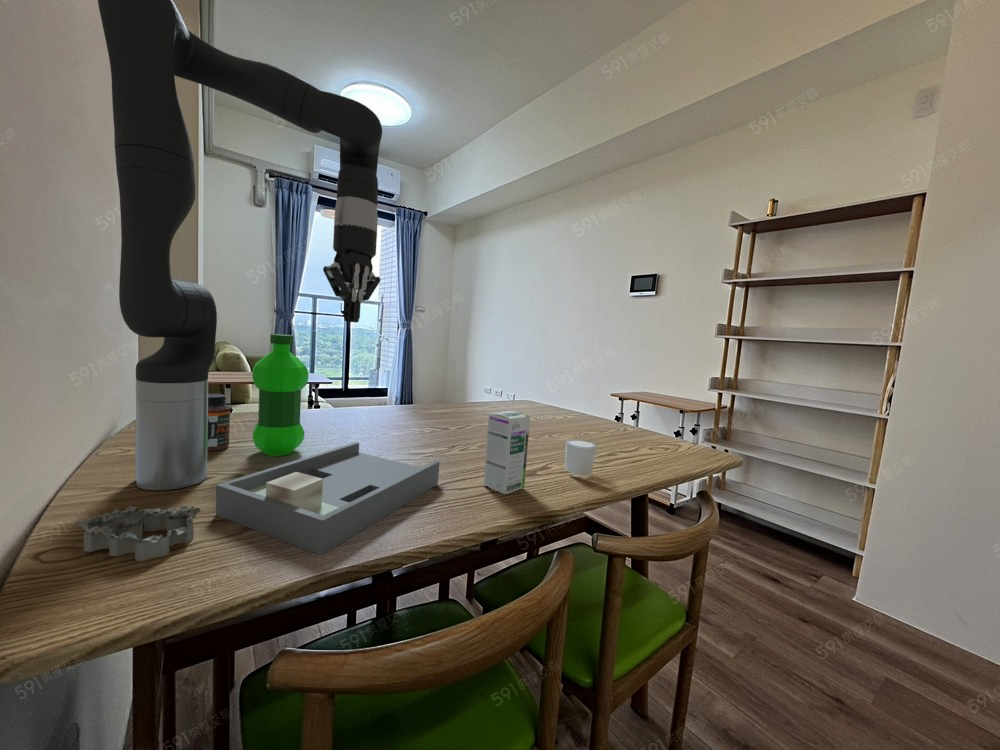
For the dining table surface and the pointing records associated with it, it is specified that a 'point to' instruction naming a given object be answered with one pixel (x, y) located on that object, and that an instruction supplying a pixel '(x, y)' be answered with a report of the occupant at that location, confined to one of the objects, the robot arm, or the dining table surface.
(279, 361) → the plastic bottle
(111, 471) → the dining table surface
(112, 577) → the dining table surface
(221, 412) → the supplement bottle
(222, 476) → the dining table surface
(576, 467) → the white cylinder
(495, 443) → the syrup box
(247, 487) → the box
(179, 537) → the grey cookie cutter
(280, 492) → the block
